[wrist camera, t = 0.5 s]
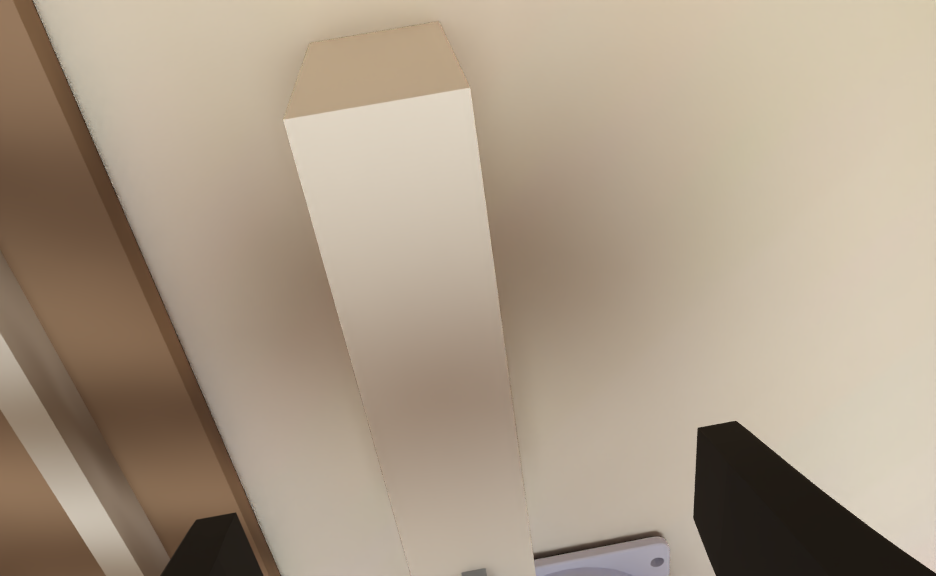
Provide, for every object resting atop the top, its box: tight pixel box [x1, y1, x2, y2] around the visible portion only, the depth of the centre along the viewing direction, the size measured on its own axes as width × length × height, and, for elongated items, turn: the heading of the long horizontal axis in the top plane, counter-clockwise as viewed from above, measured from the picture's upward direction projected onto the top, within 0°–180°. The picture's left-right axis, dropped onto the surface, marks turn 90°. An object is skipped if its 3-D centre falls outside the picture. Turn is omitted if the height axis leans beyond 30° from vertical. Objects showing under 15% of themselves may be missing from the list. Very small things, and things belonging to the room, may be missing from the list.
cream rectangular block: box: [283, 21, 536, 576], centre depth 17 cm, size 14×3×8 cm, turn 8°
